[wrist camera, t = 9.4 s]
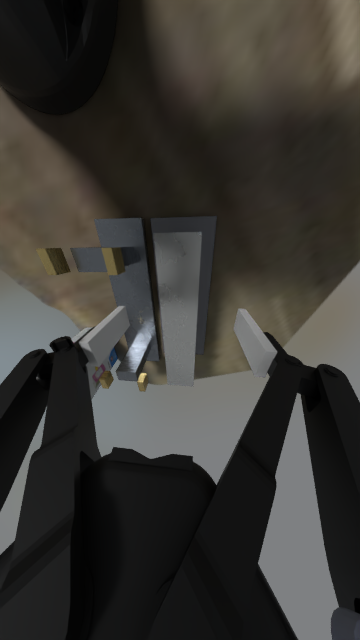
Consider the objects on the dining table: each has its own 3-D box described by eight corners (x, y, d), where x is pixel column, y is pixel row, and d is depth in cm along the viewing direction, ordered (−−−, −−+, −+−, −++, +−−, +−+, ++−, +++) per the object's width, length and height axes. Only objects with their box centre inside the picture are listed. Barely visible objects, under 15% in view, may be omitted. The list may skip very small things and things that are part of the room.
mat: (151, 218, 17) (150, 218, 16) (216, 216, 16) (216, 215, 16) (164, 350, 28) (163, 352, 27) (203, 352, 27) (203, 354, 27)
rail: (167, 237, 17) (153, 232, 11) (198, 236, 17) (201, 231, 11) (173, 353, 27) (167, 384, 21) (193, 354, 27) (193, 386, 21)
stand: (97, 220, 17) (11, 199, 9) (145, 219, 17) (98, 194, 9) (132, 356, 29) (108, 400, 21) (160, 357, 29) (147, 403, 20)
